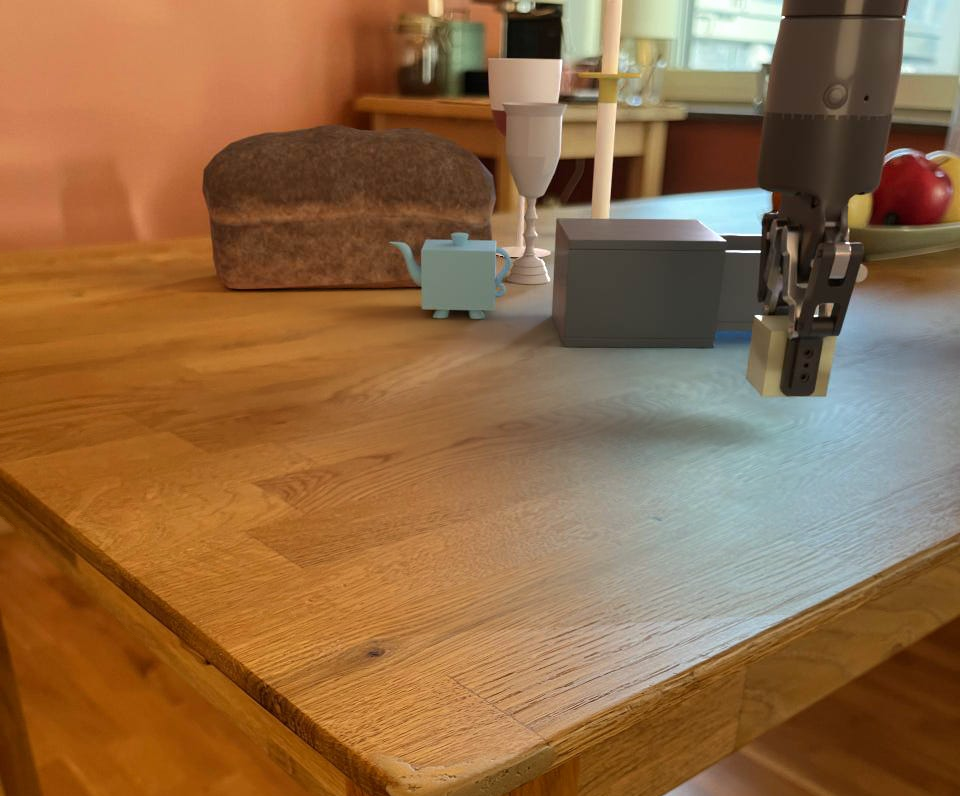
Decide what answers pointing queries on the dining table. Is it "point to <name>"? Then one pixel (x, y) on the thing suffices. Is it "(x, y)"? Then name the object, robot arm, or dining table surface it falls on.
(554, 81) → the wineglass
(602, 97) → the candle
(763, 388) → the block
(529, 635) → the dining table surface
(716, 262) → the cabinet
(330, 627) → the dining table surface
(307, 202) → the bread
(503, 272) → the teapot
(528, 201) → the chalice
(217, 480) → the dining table surface
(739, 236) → the drawer
